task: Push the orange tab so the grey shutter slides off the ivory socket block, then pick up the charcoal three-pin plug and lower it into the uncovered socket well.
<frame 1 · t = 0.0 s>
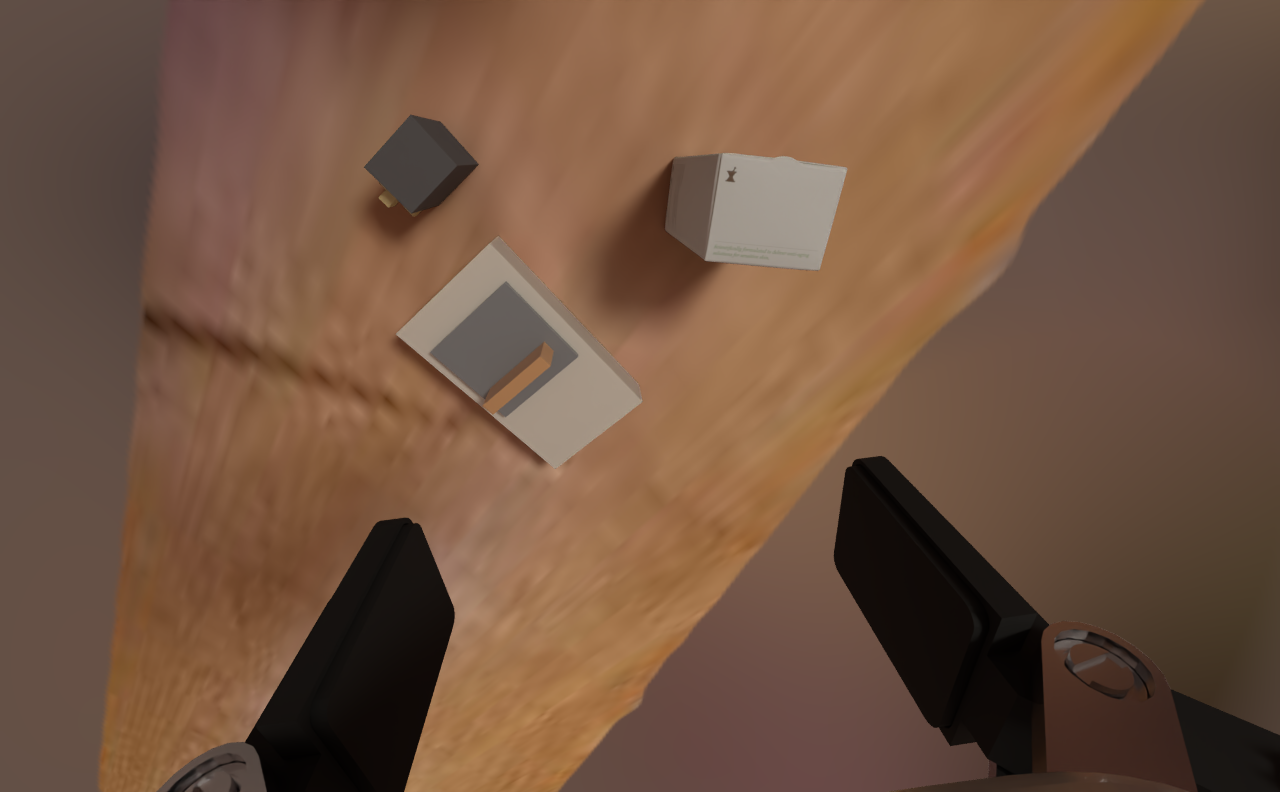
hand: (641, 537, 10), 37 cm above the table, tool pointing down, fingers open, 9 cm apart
socket block: (531, 354, 47), on the table
skincare box: (712, 196, 42), on the table
shutter: (502, 360, 41), point 6 cm above the table, slide at 0.0 cm
plug: (439, 165, 39), on the table
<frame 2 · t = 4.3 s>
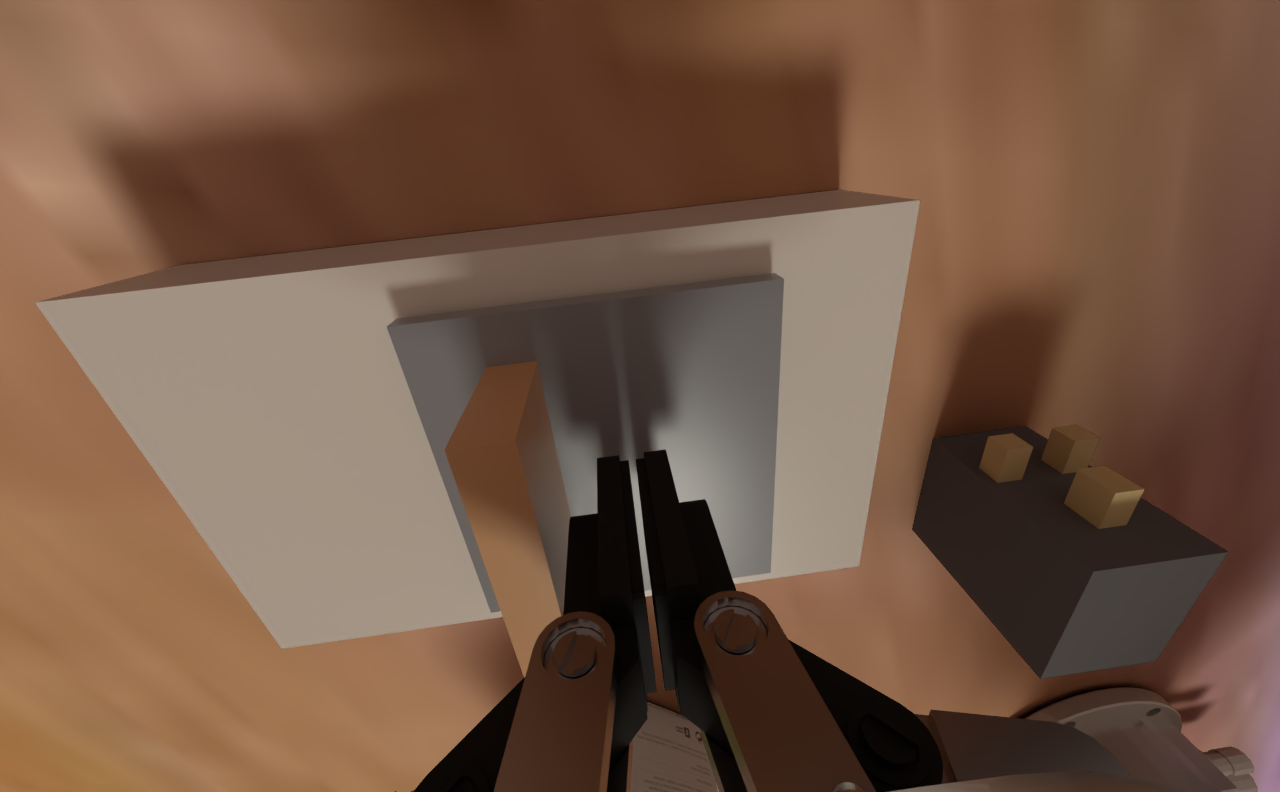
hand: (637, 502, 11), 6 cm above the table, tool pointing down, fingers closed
socket block: (553, 400, 17), on the table
skincare box: (624, 738, 28), on the table
shutter: (616, 507, 11), point 6 cm above the table, slide at 0.5 cm, touching gripper
plug: (965, 480, 21), on the table
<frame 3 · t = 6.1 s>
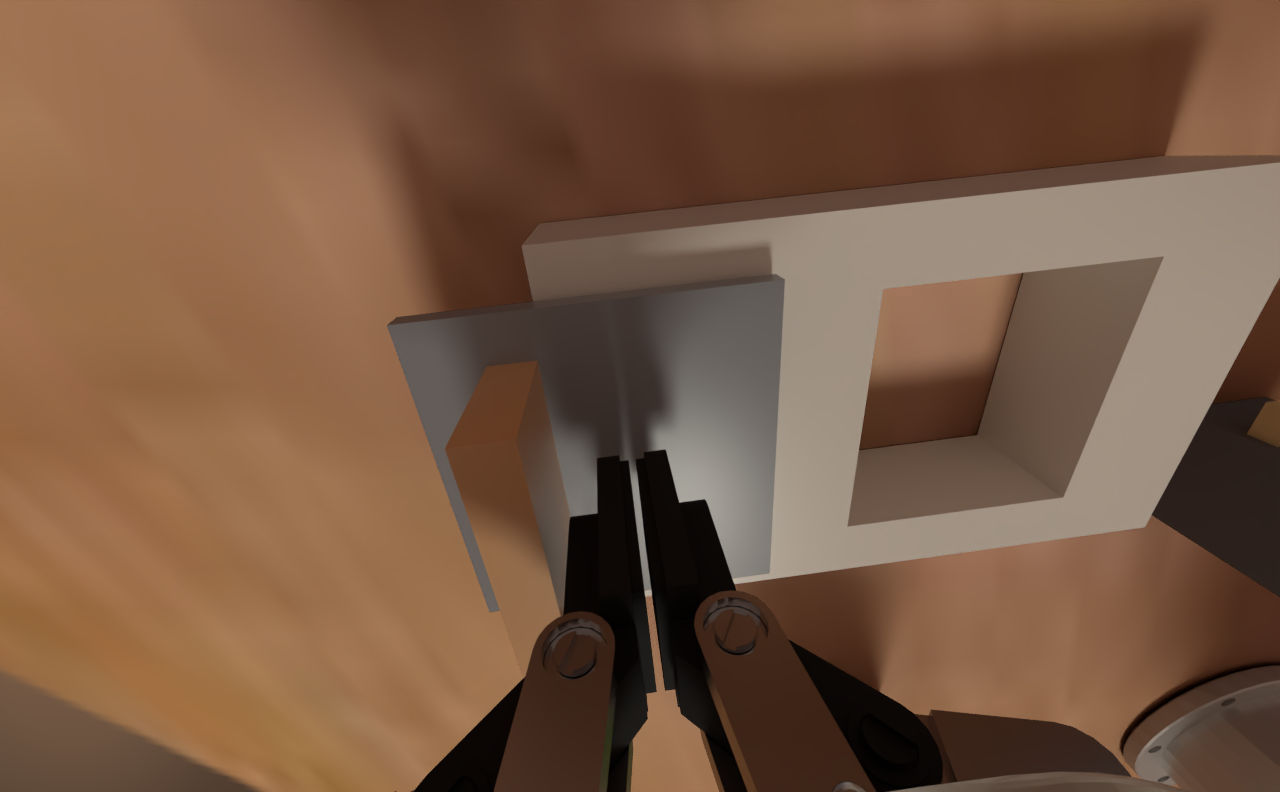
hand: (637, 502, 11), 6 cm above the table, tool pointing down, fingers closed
socket block: (840, 365, 17), on the table
shutter: (616, 507, 11), point 6 cm above the table, slide at 11.1 cm, touching gripper
plug: (1193, 451, 21), on the table
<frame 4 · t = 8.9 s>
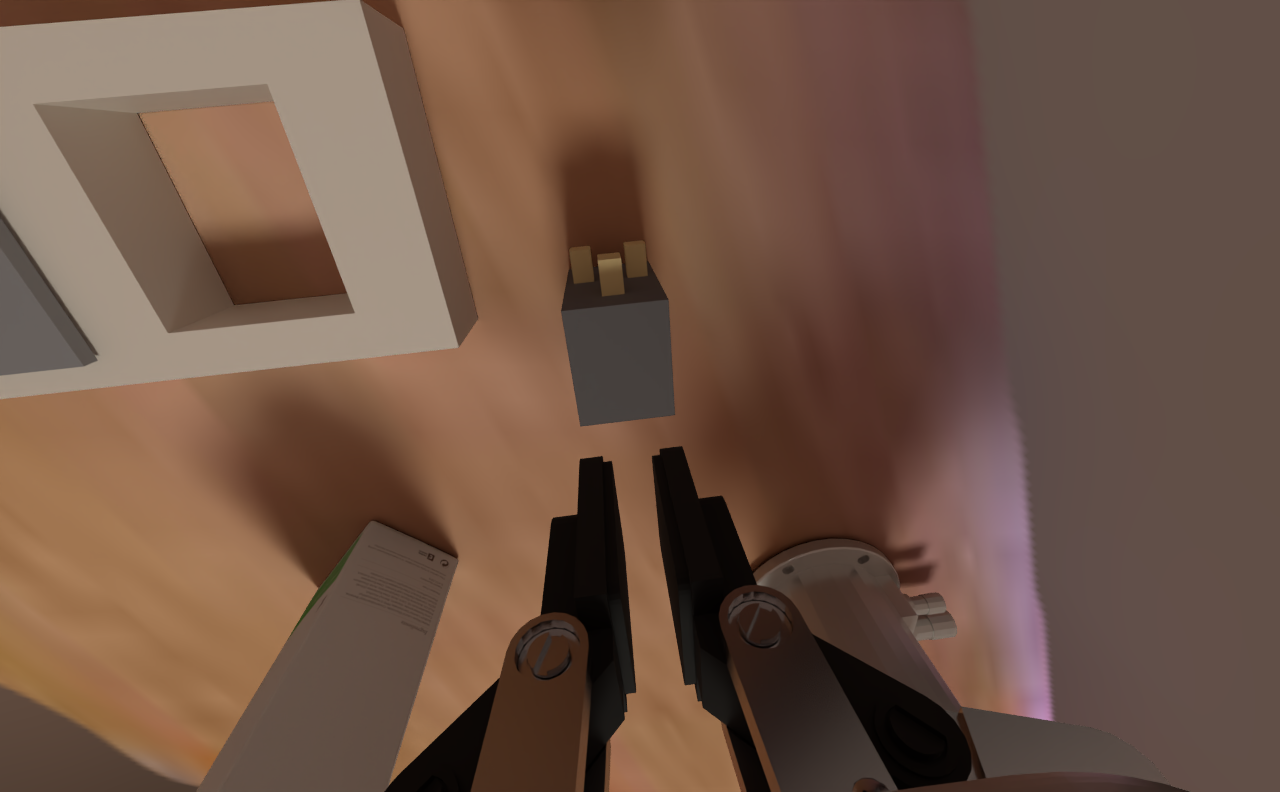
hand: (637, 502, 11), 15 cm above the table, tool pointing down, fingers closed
socket block: (218, 215, 21), on the table
skincare box: (392, 573, 32), on the table
plug: (614, 313, 25), on the table
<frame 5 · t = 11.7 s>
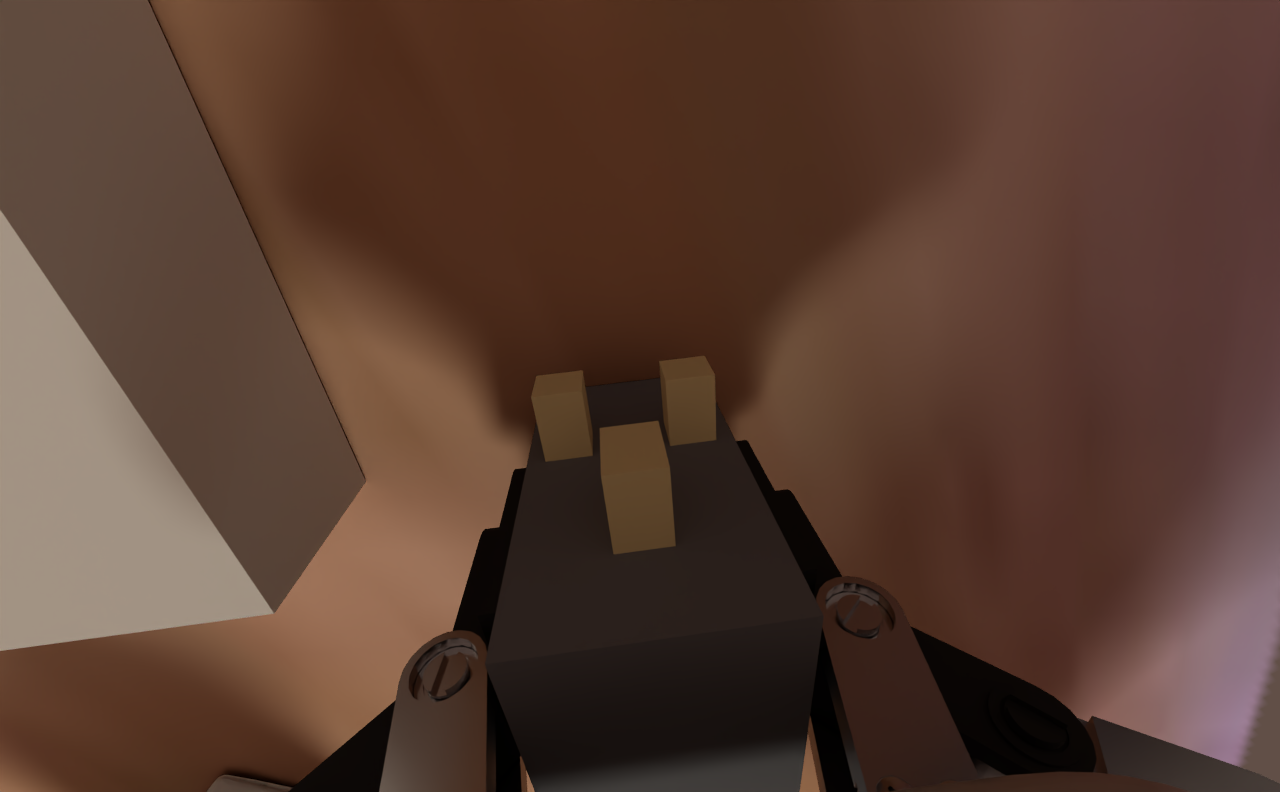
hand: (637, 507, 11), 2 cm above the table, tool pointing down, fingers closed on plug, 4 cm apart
plug: (632, 464, 13), on the table, touching gripper
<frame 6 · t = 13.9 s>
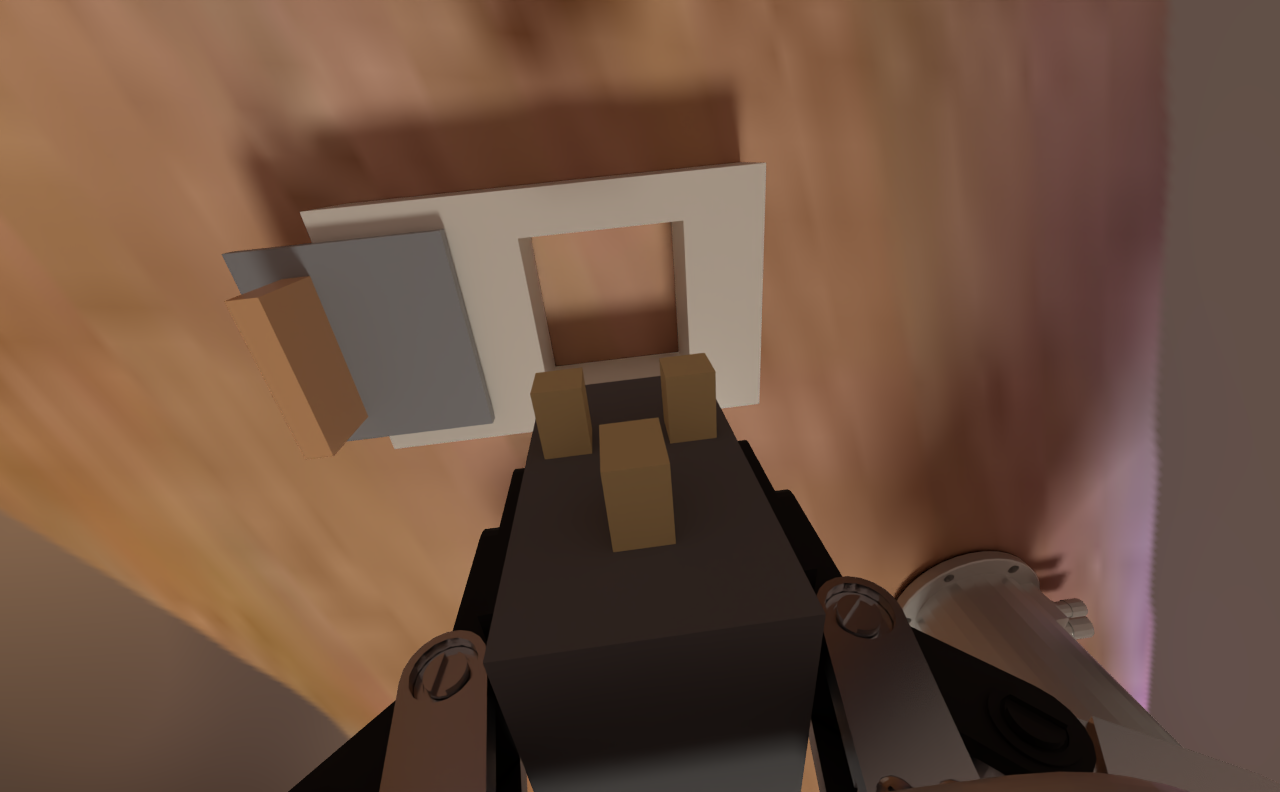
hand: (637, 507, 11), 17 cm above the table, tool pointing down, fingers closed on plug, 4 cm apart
socket block: (565, 299, 26), on the table
shutter: (357, 359, 20), point 6 cm above the table, slide at 11.3 cm
plug: (632, 462, 13), point 16 cm above the table, touching gripper
when the fingers open (5 cm above the table, at t = 16.5 s): plug drops 3 cm, resting in socket block.
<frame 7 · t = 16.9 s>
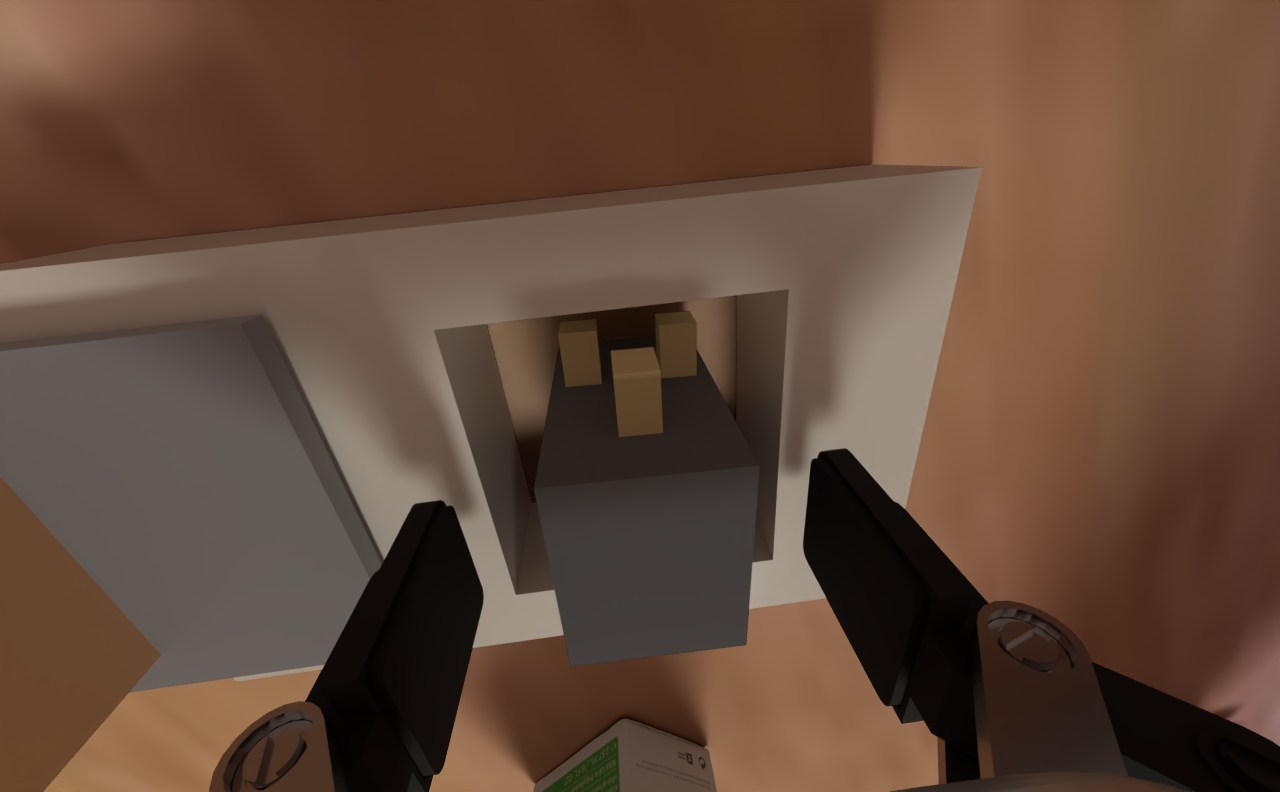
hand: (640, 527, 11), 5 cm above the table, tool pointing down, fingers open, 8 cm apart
socket block: (546, 402, 15), on the table
skincare box: (622, 763, 26), on the table
shutter: (74, 603, 9), point 6 cm above the table, slide at 11.3 cm
plug: (629, 409, 16), resting in socket block
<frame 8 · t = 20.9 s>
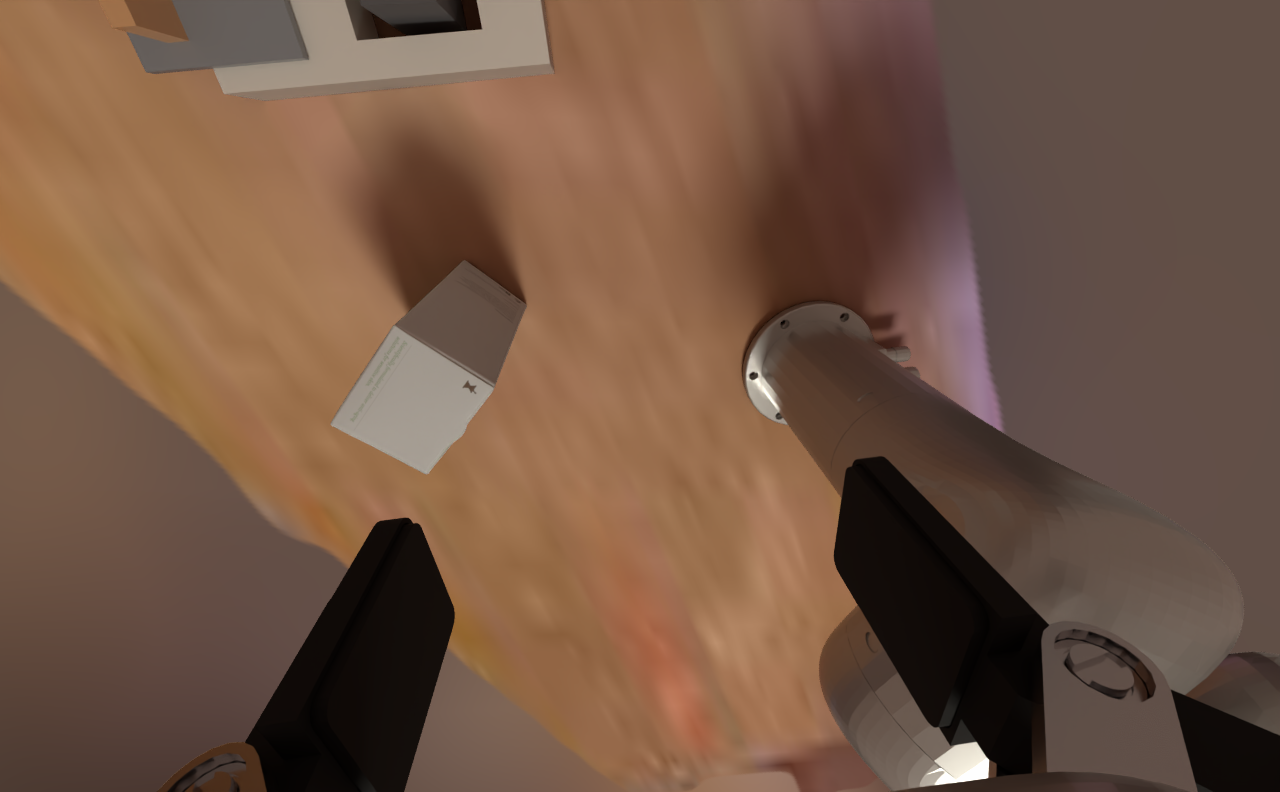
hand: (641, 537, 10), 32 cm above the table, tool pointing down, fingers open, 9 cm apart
skincare box: (473, 319, 41), on the table
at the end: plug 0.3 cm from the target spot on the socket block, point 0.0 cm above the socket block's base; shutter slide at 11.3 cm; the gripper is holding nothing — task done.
